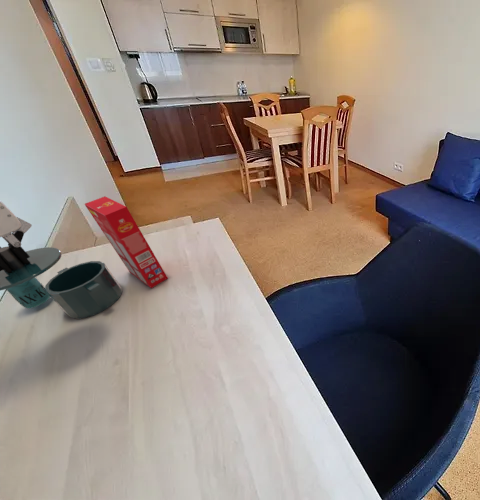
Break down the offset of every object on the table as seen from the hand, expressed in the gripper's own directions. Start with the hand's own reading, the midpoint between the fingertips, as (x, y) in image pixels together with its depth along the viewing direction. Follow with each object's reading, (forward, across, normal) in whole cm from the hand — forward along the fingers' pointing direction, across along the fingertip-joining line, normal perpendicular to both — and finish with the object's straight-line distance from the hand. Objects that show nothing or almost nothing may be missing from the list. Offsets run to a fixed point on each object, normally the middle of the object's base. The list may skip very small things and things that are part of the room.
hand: (16, 266), depth 64 cm
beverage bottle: (+23, -1, -27) cm, 36 cm away
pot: (+23, -9, -12) cm, 28 cm away
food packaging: (+23, -23, -8) cm, 34 cm away
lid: (+1, 0, 0) cm, 1 cm away
